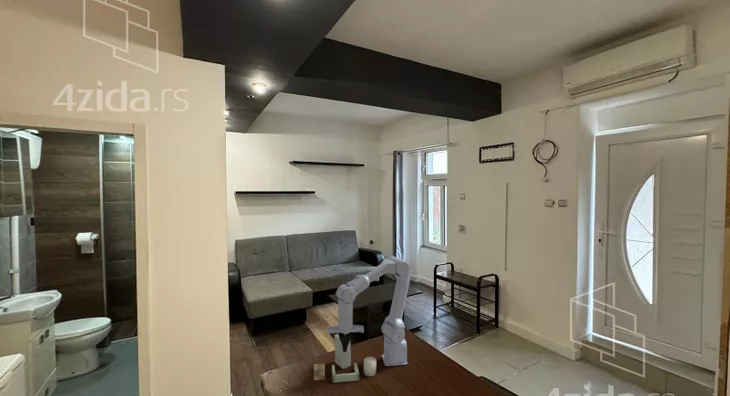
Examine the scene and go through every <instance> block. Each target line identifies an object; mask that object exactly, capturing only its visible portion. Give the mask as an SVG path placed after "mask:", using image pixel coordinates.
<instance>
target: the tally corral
mask: <svg viewBox="0 0 730 396" xmlns="http://www.w3.org/2000/svg"><path fill="white" fill-rule="evenodd" d="M353 366H354V367H353V371H354V372H349V373H337V374H336V369H335V367H336V366H335V364H332V365H331V375H332V377H331V380H332V383H333V384H334V383H336V384H337V383H343V382H344V383H345V382H356V381H358V382H359V381H360V372H359V367H358V364H357V362H354V364H353Z"/></svg>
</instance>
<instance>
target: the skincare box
mask: <svg viewBox="0 0 730 396" xmlns="http://www.w3.org/2000/svg"><path fill="white" fill-rule="evenodd" d="M351 350H352V349H351V341H350V342H349V344H348V348H347V352H343V347H342V343H341V341H340V339H339V335H338V333H335V334H334V359H335V360H334V363H335V364H336V365H338V366H339V367H340V368H341V369H342V370H344V369H348V368H349V367H351V365H352V364H351V363H352V358H351V357H352V355H351Z"/></svg>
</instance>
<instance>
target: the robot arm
mask: <svg viewBox="0 0 730 396" xmlns="http://www.w3.org/2000/svg"><path fill="white" fill-rule="evenodd" d="M410 269H411V265H410V264H409V262H408V261H407V260H405V259H401V258H399V257H396V256H394V255H389V256H388V257H386V258H384V259H383V260H382V262H381V263H380V264H379V265H377V266H375V268H373V269H372V270H370V271H369V272H368V273H366V274H358V275H356V277H355V278H354V279H352V280H350V281H348V282H346V284H341V285H340V286H338V288H337V289H336V291H335V296H336V297H337V298H338V302H337V303H338V304H337V308H338V309H337V310H338V311H337V325H335V326H334V325H333V326H327V327H326V328H325V329H326V331H325V332H326V335H330V334H338V335H339V339H340V341H341V343H342V347H343V352H347V348H348V344H349V342H350V343H351V340H352V338H353V333H364V332H365V330H364V329H365V327H364V325H359V324H353V321H354V320H353V317H354V315H353V314H354V312H353V311H354V310H353V309H354V308H353V307H354V304H353V303H354V301H355V300H356V298H357V296H358V295H359V294H360V293H362V292H363V291H364V290H366V289H368V288H369V287H370V283H371V282H373V281H375V280H376V279H378V278H380V277H382V276H383V275H385V274H389V275H390V274H392V275H393V276H394V277H395V278H396V283H395V288H394V292H393V297H392V300H391V301H392V302H391V306H390V310H389V314H388V316H386V317H385V319H384V322H383V323H382V324H381V333H382V334H383V337H384V338H383V339H384V341H383V342H384V343H383V347H384V348H383V354H382V355H381V358H382V360H383V364H384V366H385V367H390V366H402V365H403V366H406V365H408V346H407V341H406V339H405V336H406V333H405V327H406V326H405V323H404V320H403V315H404V310H405V305H406V301H407V296H408V291H409V287H410V281H411V273H410Z"/></svg>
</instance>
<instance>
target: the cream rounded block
mask: <svg viewBox="0 0 730 396" xmlns="http://www.w3.org/2000/svg"><path fill="white" fill-rule="evenodd" d="M376 374H377V358H375V357H373V356H366V357H365V358H364V359H363V375H364V376H367V377H373V376H376Z"/></svg>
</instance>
